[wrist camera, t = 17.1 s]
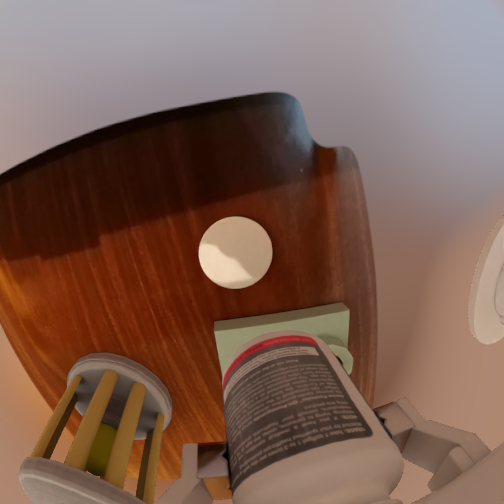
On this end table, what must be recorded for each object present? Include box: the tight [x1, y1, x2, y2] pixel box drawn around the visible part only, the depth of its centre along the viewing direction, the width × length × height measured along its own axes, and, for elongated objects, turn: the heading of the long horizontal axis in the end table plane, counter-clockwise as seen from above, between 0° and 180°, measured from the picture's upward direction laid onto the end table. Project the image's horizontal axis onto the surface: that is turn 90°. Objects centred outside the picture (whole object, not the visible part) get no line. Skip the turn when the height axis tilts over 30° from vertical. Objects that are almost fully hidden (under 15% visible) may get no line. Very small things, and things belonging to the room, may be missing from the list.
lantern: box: [19, 352, 172, 504], centre depth 18 cm, size 14×14×25 cm
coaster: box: [199, 216, 272, 289], centre depth 27 cm, size 7×7×1 cm
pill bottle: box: [222, 330, 404, 504], centre depth 8 cm, size 5×5×10 cm
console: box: [214, 302, 353, 377], centre depth 29 cm, size 14×12×4 cm
